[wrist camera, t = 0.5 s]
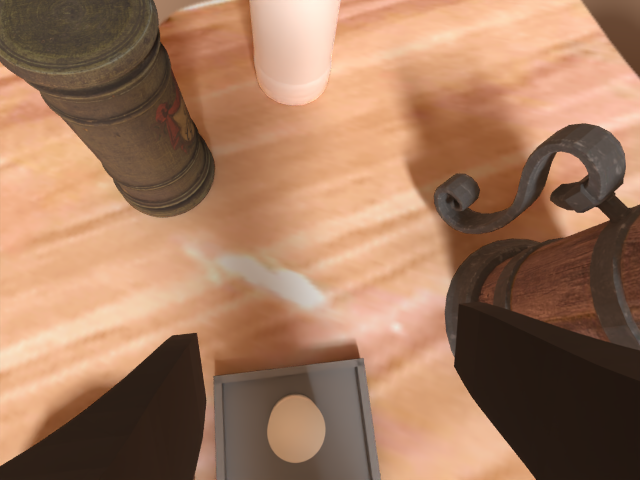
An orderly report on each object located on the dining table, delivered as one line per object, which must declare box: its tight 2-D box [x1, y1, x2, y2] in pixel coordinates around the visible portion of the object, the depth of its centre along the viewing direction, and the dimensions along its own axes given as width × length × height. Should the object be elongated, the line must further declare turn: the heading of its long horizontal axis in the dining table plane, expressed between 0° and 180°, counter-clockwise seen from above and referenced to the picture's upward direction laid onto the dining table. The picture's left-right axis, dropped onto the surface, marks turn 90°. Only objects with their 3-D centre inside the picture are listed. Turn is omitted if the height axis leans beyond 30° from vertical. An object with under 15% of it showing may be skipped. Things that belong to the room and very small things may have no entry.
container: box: [0, 0, 215, 217], centre depth 28 cm, size 9×9×18 cm
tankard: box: [434, 124, 640, 357], centre depth 27 cm, size 24×17×20 cm
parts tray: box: [214, 358, 381, 480], centre depth 29 cm, size 15×12×1 cm
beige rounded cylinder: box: [267, 394, 325, 463], centre depth 28 cm, size 4×4×5 cm
